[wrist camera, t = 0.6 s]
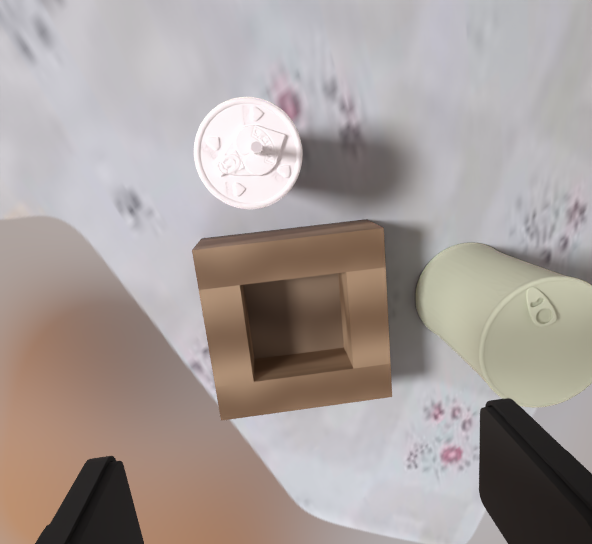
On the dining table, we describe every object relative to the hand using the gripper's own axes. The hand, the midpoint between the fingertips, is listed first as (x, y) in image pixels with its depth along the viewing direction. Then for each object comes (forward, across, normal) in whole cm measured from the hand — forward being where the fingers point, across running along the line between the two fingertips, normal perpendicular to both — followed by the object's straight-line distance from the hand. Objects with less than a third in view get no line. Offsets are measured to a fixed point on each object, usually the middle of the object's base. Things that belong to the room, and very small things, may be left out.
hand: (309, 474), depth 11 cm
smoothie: (+26, +1, -8) cm, 27 cm away
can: (+26, -17, +6) cm, 31 cm away
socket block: (+26, -1, +5) cm, 26 cm away
